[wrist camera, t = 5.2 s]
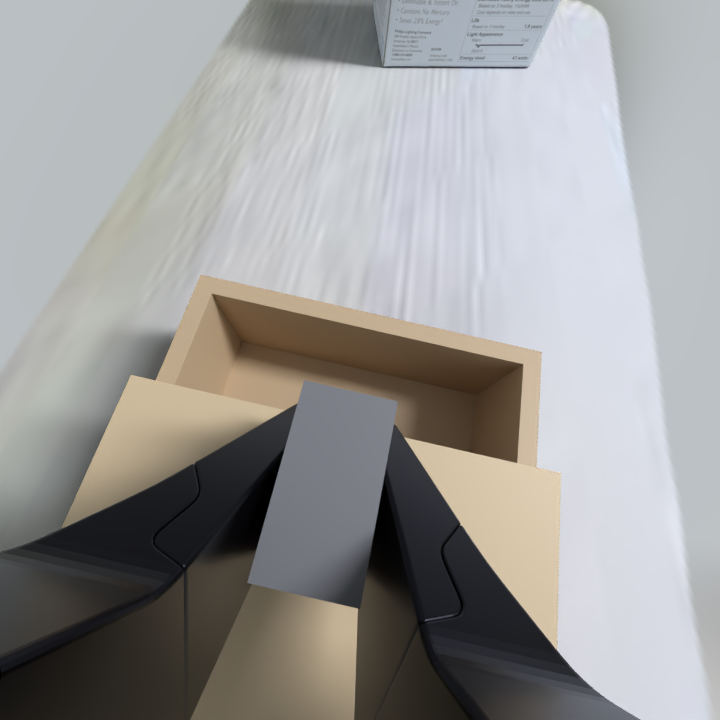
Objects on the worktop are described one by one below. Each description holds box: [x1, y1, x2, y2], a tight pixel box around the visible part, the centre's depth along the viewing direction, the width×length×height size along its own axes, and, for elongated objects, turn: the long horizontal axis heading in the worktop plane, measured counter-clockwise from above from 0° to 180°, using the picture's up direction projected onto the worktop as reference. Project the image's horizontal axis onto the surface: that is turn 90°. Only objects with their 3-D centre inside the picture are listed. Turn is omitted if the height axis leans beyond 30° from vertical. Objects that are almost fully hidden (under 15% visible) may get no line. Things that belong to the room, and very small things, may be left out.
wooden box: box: [156, 275, 542, 467], centre depth 13 cm, size 12×12×5 cm
